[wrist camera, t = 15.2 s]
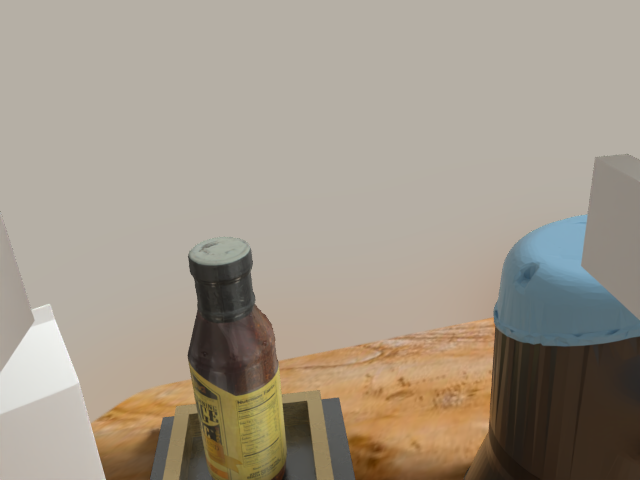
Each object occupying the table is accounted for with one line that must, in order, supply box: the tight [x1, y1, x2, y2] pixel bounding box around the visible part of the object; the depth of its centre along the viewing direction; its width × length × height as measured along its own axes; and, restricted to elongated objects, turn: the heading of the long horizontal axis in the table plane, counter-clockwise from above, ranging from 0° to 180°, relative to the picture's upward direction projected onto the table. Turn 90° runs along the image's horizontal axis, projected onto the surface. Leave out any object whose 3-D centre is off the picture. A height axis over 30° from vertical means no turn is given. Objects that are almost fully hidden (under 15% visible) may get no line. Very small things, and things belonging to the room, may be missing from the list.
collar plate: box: [150, 390, 355, 480], centre depth 46 cm, size 16×16×4 cm
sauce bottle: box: [188, 237, 287, 480], centre depth 43 cm, size 6×6×20 cm
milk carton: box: [0, 304, 106, 480], centre depth 40 cm, size 7×7×19 cm
